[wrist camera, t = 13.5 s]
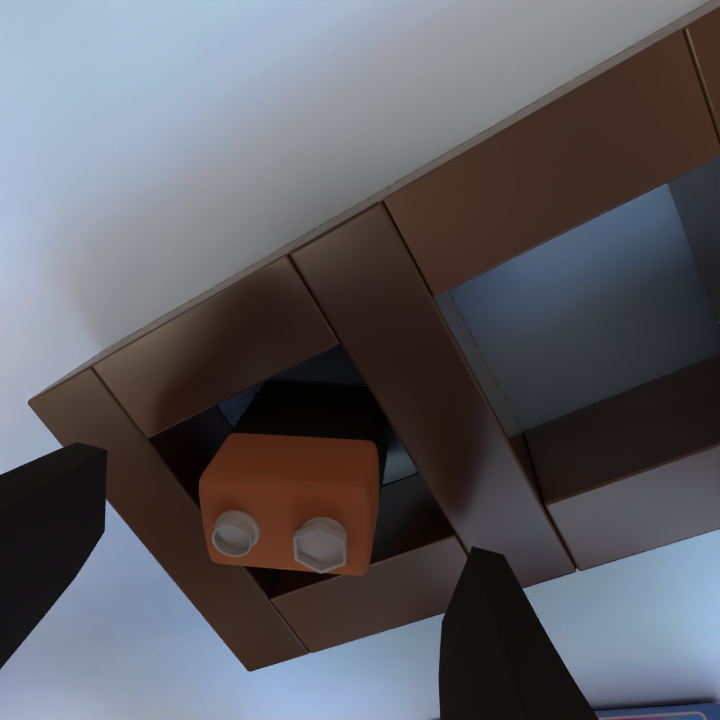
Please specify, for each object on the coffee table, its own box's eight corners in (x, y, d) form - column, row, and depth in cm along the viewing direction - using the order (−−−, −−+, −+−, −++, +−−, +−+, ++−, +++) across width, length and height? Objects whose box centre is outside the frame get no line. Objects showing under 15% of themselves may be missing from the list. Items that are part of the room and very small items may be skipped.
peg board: (278, 587, 17) (248, 673, 15) (100, 351, 15) (24, 402, 12) (845, 386, 13) (959, 457, 10) (728, -11, 10) (837, -61, 7)
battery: (388, 455, 15) (368, 600, 10) (268, 448, 15) (196, 584, 11) (389, 383, 14) (367, 506, 9) (261, 377, 14) (181, 493, 10)
